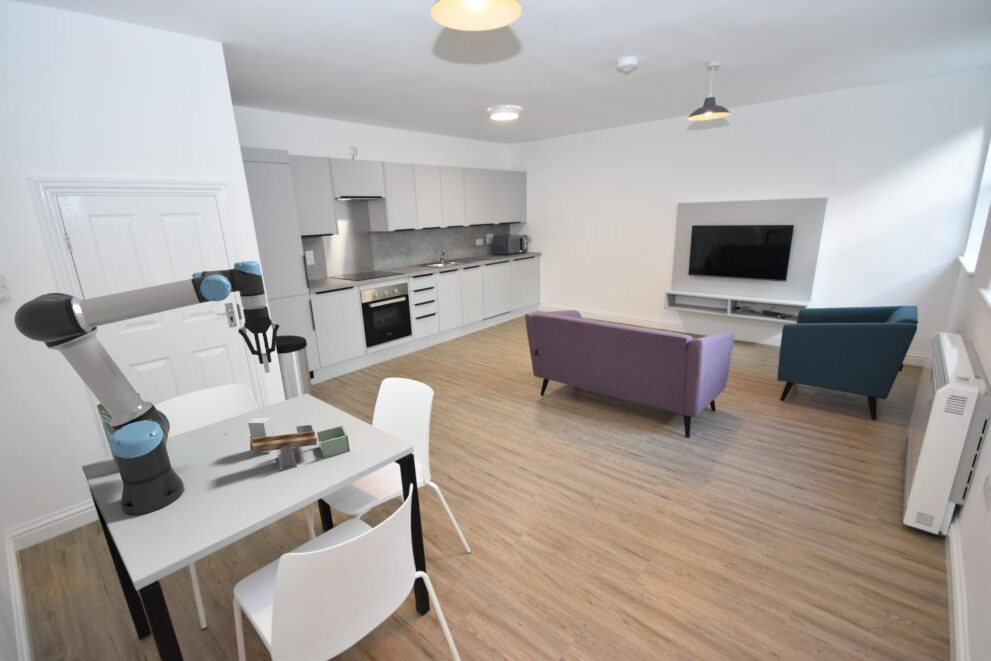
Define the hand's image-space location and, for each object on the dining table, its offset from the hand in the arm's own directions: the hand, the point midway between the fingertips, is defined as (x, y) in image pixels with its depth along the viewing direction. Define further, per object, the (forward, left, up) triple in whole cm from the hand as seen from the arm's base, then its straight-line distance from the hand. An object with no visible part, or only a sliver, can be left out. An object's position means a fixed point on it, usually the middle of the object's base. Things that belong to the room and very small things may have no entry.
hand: (267, 371), depth 155 cm
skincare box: (-5, -3, -29) cm, 29 cm away
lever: (+1, -11, -22) cm, 25 cm away
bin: (+16, -16, -28) cm, 37 cm away
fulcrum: (+1, -16, -28) cm, 33 cm away
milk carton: (-46, +15, -29) cm, 56 cm away
